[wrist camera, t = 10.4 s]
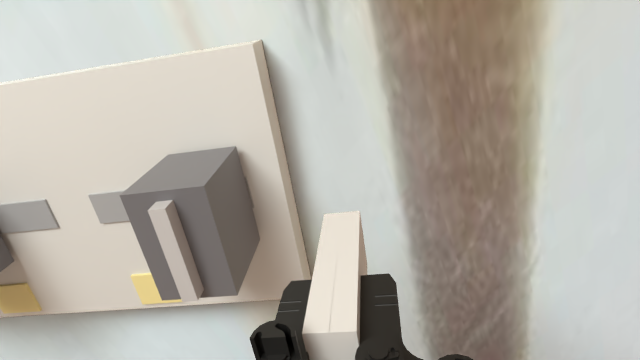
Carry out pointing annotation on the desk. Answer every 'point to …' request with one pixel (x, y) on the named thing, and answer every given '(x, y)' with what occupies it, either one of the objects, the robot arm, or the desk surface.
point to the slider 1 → (4, 256)
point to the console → (133, 175)
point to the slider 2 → (194, 223)
